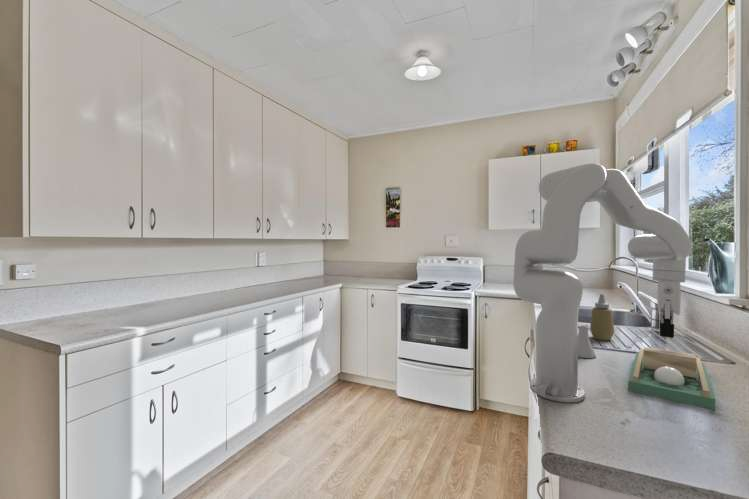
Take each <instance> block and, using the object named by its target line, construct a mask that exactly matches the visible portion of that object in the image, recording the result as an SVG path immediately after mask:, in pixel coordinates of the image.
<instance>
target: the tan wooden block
mask: <svg viewBox="0 0 749 499" xmlns="http://www.w3.org/2000/svg"><path fill="white" fill-rule="evenodd" d="M643 349H644V369H650V370H655V371H656V370H657V369H658V368H660V367H664V366H668V367H672V368H675V369H676V370H678V371H679V372H680V373H681V374H682V375H683V376H688V377H693V378H696V357H697V355H696V354H693V353H688V352H680V351H674V350H668V349H663V348H662V349H661V348H655V347H654V348H653V347H647V346H644V347H643Z"/></svg>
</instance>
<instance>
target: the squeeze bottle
mask: <svg viewBox="0 0 749 499" xmlns="http://www.w3.org/2000/svg"><path fill="white" fill-rule="evenodd" d="M589 326H590V327H589V330H590V332H591V335H592V337H593V339H595V340H598V341H603V342H604V341H611V340H612V339H613V336H614V334H615V328H614V327H615V325H614V317H613V311H612V309H610V304H609V303H607V301H606V298H605V294H604V293H599V297H598V302H594V307H593V308H592V309H591V318H590V325H589Z"/></svg>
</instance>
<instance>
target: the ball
mask: <svg viewBox="0 0 749 499" xmlns="http://www.w3.org/2000/svg"><path fill="white" fill-rule="evenodd" d="M654 379H655V380H656V381H659V382H662V383H666V384H671V385H679V386H684V383H685V381H684V377H683V375H682V374H681V373H680V372H679V371H678V370H676V369H675V368H672V367H668V366H664V367H660V368H658V369H657V370H656V371H655V373H654Z"/></svg>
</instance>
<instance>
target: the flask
mask: <svg viewBox="0 0 749 499" xmlns="http://www.w3.org/2000/svg"><path fill="white" fill-rule="evenodd" d="M589 330H590V327H589V326H587V325H578V358H583V359H584V358H585V359H595V358H597V355H596V353H595V351H594V348H593V345H592V342H591V340H590V337H589V335H590V334H589Z"/></svg>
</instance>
